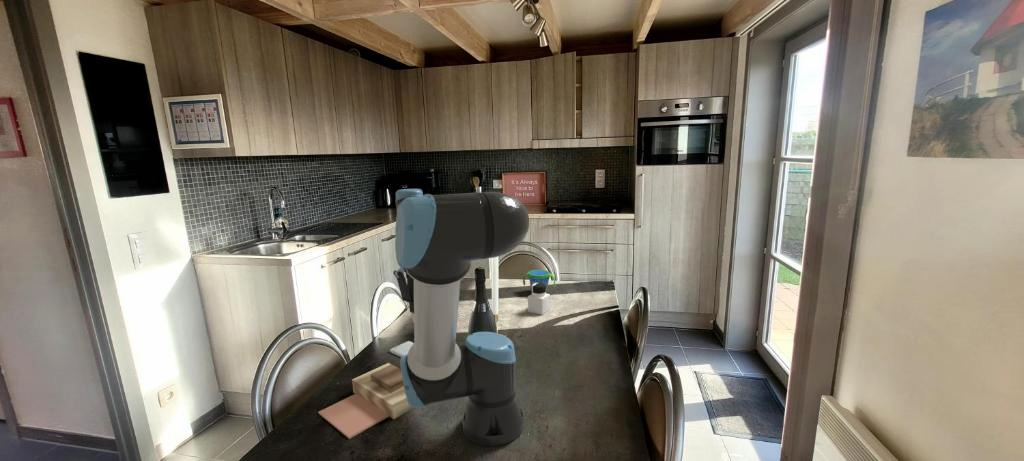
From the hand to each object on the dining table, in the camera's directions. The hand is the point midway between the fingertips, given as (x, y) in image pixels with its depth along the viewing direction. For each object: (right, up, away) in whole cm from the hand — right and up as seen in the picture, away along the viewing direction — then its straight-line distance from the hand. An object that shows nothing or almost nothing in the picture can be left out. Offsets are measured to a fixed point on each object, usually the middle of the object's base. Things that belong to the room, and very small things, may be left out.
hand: (418, 321), depth 121 cm
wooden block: (-6, -16, -5) cm, 18 cm away
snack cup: (+41, -4, +78) cm, 88 cm away
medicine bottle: (+39, -8, +55) cm, 68 cm away
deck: (-7, -20, -5) cm, 21 cm away
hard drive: (-7, -16, +20) cm, 27 cm away
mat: (-14, -22, -14) cm, 29 cm away
